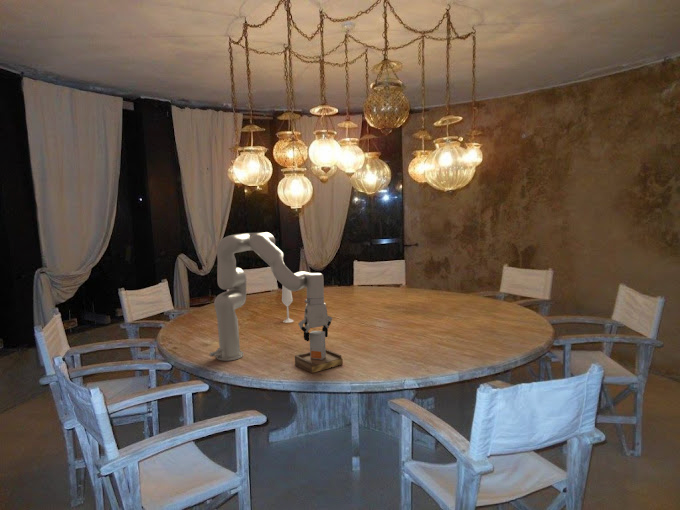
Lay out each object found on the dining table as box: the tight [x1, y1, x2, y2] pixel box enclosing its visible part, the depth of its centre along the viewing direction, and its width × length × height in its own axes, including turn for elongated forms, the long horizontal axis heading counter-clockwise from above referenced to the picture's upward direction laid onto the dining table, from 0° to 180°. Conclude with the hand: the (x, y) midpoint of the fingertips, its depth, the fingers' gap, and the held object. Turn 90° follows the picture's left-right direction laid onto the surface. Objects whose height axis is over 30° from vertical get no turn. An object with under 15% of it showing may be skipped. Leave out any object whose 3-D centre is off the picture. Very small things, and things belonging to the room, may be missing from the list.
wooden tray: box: [294, 348, 344, 374], centre depth 210 cm, size 16×14×4 cm
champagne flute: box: [281, 284, 294, 324], centre depth 289 cm, size 7×7×24 cm
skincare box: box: [309, 330, 327, 360], centre depth 209 cm, size 6×4×12 cm
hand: (316, 338), depth 209 cm, fingers open, 9 cm apart
